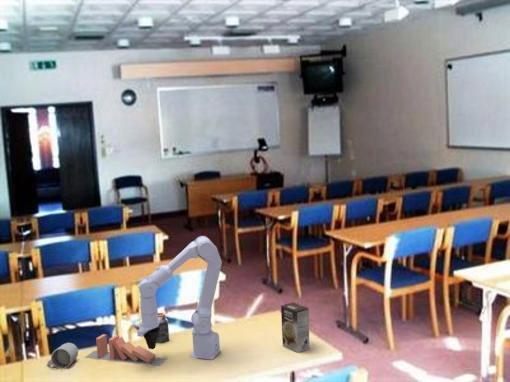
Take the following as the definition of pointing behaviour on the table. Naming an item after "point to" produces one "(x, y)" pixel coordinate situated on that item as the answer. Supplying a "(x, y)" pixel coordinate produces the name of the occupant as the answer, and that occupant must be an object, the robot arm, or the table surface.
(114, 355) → the domino
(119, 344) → the domino
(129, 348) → the domino
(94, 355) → the runner mat
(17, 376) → the table surface
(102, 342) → the domino
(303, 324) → the coffee box
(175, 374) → the table surface
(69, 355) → the ceramic mug
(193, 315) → the robot arm
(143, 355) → the domino
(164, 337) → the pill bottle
